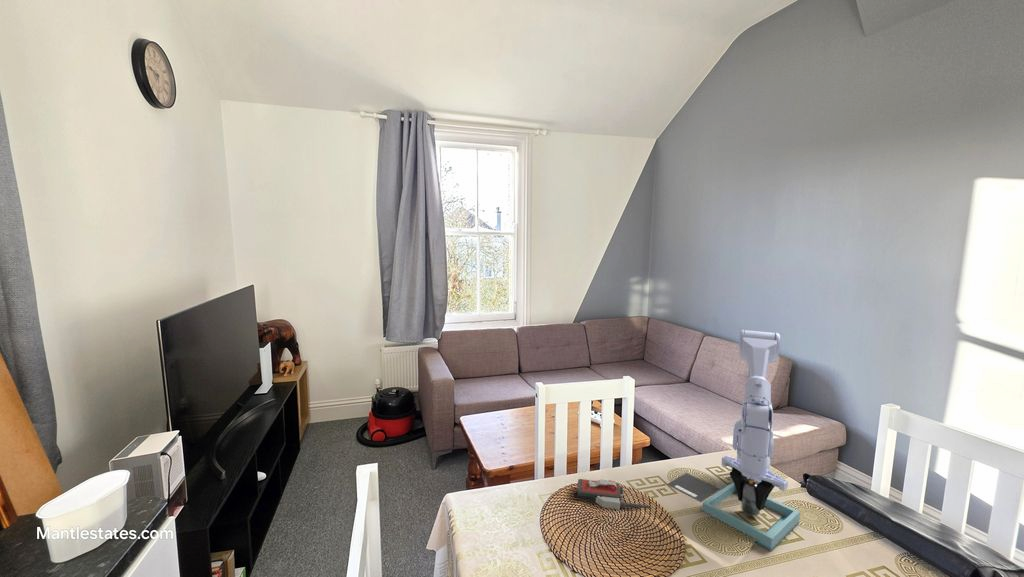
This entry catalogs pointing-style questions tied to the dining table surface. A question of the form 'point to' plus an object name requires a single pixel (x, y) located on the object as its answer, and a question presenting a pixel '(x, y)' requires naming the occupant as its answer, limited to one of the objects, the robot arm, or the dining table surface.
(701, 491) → the grey square pad
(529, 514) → the dining table surface
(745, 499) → the battery cell
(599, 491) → the walkie-talkie
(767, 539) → the rectangular frame
